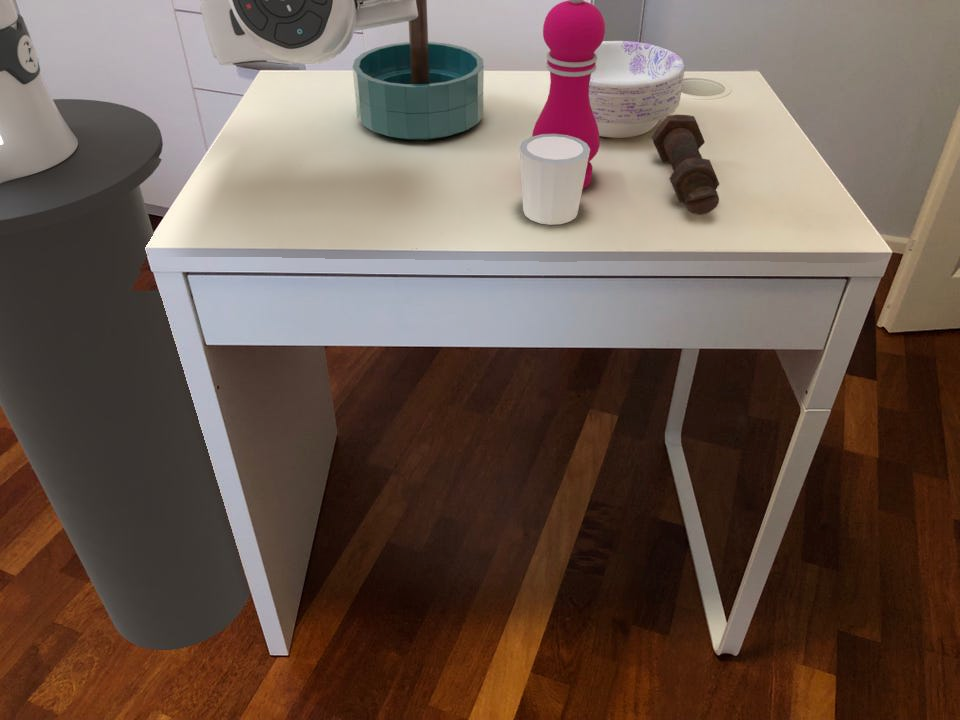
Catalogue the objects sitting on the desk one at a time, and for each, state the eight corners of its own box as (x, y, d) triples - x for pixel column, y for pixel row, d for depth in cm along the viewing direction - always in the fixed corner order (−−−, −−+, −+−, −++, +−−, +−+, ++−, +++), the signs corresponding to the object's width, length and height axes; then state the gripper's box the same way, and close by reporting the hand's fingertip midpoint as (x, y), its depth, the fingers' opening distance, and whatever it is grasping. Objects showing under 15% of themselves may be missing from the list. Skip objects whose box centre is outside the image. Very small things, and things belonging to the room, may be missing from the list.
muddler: (403, 120, 98) (394, -40, 86) (405, 106, 101) (396, -50, 89) (439, 119, 98) (434, -40, 86) (439, 106, 101) (435, -50, 90)
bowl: (352, 145, 94) (346, 87, 89) (364, 95, 106) (359, 41, 101) (484, 144, 94) (485, 86, 90) (481, 95, 106) (481, 41, 102)
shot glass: (507, 201, 83) (509, 137, 79) (567, 191, 85) (572, 128, 81) (532, 232, 78) (535, 166, 74) (595, 221, 80) (602, 156, 76)
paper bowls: (526, 122, 99) (529, 58, 94) (604, 91, 107) (610, 30, 102) (623, 161, 91) (632, 93, 86) (699, 124, 99) (711, 60, 94)
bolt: (689, 235, 81) (664, 165, 93) (737, 214, 80) (706, 146, 91) (668, 191, 78) (646, 124, 89) (718, 168, 76) (688, 103, 88)
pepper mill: (592, 165, 90) (611, -26, 77) (598, 195, 84) (620, -5, 72) (528, 164, 90) (537, -27, 77) (530, 194, 84) (540, -6, 72)
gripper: (414, -50, 69) (411, -30, 82) (180, -8, 68) (214, 5, 81) (428, 27, 71) (423, 35, 84) (201, 69, 70) (231, 70, 83)
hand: (318, 21), depth 83 cm, fingers open, 8 cm apart
